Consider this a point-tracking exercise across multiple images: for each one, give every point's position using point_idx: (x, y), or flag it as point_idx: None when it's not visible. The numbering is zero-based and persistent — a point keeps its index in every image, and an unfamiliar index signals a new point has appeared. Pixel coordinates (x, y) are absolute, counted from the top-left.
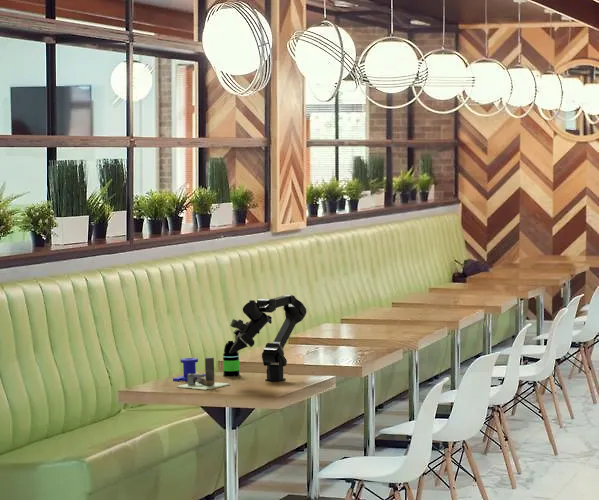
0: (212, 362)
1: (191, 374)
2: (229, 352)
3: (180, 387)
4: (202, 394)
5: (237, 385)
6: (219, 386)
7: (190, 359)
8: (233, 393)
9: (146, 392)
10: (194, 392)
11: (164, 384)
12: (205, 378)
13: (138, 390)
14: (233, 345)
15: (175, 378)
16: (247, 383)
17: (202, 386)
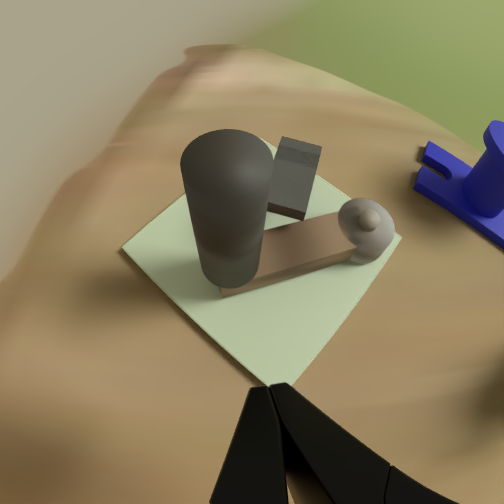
0: (193, 209)
1: (282, 151)
2: (256, 387)
3: None
4: (34, 238)
5: None
6: (204, 330)
7: None
8: (2, 376)
9: (178, 77)
10: (95, 206)
11: (347, 116)
12: (295, 236)
13: (228, 63)
14: (324, 486)
15: (430, 147)
16: None
17: None
